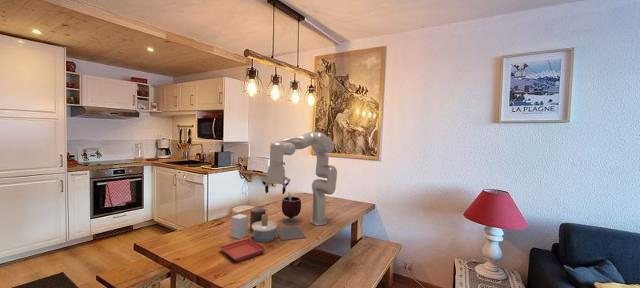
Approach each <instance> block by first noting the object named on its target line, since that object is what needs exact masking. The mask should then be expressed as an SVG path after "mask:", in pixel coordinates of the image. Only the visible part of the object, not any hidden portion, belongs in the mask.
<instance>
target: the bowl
mask: <svg viewBox="0 0 640 288" xmlns="http://www.w3.org/2000/svg"><path fill="white" fill-rule="evenodd" d="M276 235H277V233H276V229H274V230H271V231H264V232H262V231H255V230H253V232H252V236H253V241H255V242H257V243H268V242H272V241H273V240H274V239H275V237H276Z"/></svg>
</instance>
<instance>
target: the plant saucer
mask: <svg viewBox="0 0 640 288" xmlns="http://www.w3.org/2000/svg"><path fill="white" fill-rule="evenodd" d="M219 249H220V250H221V251H222V252H223V253H224V254H226V255H227V256H228V257H229V258H231V259H232V260H233V261H235V262H236V263H237V262H241V261H244V260H246V259H250V258H253V257H256V256H258V255H261V254H262V253H263V252H264V251H265V250H266V247H264V246H263V245H262V244H260V243H259V242H257V241H255V240H254V239H251V238H245V239H242V240H238V241H234V242H231V243H229V244H224V245H221V246H219Z"/></svg>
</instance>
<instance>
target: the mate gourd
mask: <svg viewBox="0 0 640 288" xmlns="http://www.w3.org/2000/svg"><path fill="white" fill-rule="evenodd" d="M301 210H302V200H301V198H300V197H297V196H292V194H291V193H290V191H289V192H288V196H285V197H283V198H282V201H281V213H282V214H283V216H284V217H287V218H284V219H283V220H282V225H286V226H297V225H299V224H300V220H299V219H297V218H296V217H297V216H299V214H300V213H301ZM294 217H295V218H294Z"/></svg>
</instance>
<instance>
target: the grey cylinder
mask: <svg viewBox="0 0 640 288" xmlns="http://www.w3.org/2000/svg"><path fill="white" fill-rule="evenodd" d="M263 214H266V209H265V208H264V207H255V208H250V218H249V220H250V221H249V232H251V233H253V229H252V224H253V223H255V222H258V221H262V215H263Z"/></svg>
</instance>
